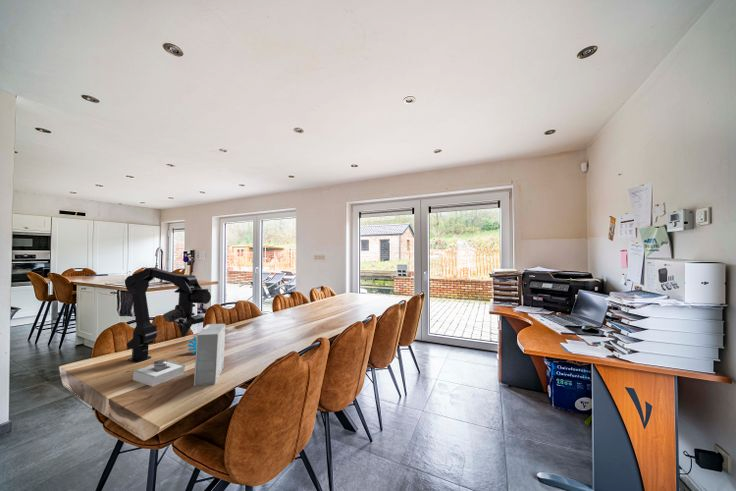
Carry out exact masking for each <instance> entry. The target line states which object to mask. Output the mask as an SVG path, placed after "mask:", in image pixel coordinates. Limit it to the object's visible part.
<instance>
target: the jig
mask: <svg viewBox="0 0 736 491" xmlns="http://www.w3.org/2000/svg"><path fill="white" fill-rule="evenodd" d="M185 366H186V365H185V364H182V363H178V362H175V361H171V360H168V363H167V365H166V369H164V370H162V371H159V372H155V371H154V365H153V364H150V365H148V366H145V367H141V368H138V369H135V370H133V375H132V377H133V378H132V380H133V381H135V382H138V383H141V384H143V385H147V386H149V387H155V386H157V385H160V384H163V383H165V382H167V381H170V380H173V379H176V378H178V377H180V376H183V375H185V369H186V368H185Z"/></svg>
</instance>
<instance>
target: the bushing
mask: <svg viewBox="0 0 736 491" xmlns="http://www.w3.org/2000/svg"><path fill="white" fill-rule="evenodd" d="M168 361H169V360H168V359H158V360H156V361H153V364H152V365H154V371H155V372H159V371H162V370H164V369H166V365H167V363H168Z"/></svg>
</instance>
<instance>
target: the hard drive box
mask: <svg viewBox="0 0 736 491" xmlns="http://www.w3.org/2000/svg"><path fill="white" fill-rule="evenodd" d="M196 337H197V338H196V340H197V343H196V352H195V362H194V363H195V364H194V375H193V377H194V378H193V386H194V387H198V386H199V387H200V386H208V385H209V386H210V385H215V384H216V383H217V381H218V379H219V376H221V373H222V372H223V369H224V366H225V365H224V362H225V342H226V341H225V340H226V323H209V324H206V325H205V326H204V327H203V328H202V329H201V330H200V331H199V332H198V333H197V335H196Z"/></svg>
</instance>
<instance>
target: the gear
mask: <svg viewBox="0 0 736 491" xmlns="http://www.w3.org/2000/svg"><path fill="white" fill-rule="evenodd" d="M188 342H189V343H188V344H187V348H188V351H189V352H190V351H192V352H191V354H193V355H194V354H196V343H197V336H194V337H193V338H192V339H190V340H189V341H188Z"/></svg>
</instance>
